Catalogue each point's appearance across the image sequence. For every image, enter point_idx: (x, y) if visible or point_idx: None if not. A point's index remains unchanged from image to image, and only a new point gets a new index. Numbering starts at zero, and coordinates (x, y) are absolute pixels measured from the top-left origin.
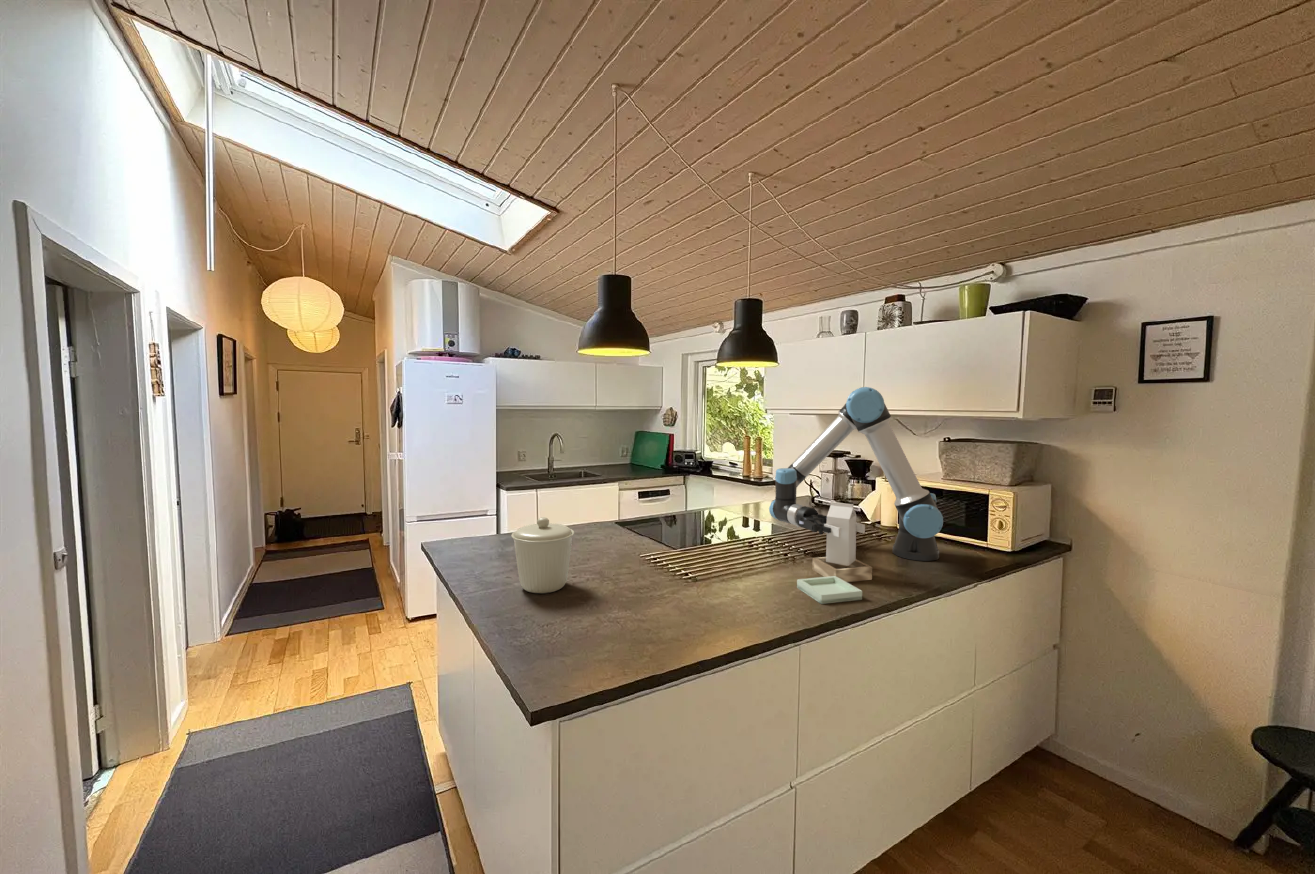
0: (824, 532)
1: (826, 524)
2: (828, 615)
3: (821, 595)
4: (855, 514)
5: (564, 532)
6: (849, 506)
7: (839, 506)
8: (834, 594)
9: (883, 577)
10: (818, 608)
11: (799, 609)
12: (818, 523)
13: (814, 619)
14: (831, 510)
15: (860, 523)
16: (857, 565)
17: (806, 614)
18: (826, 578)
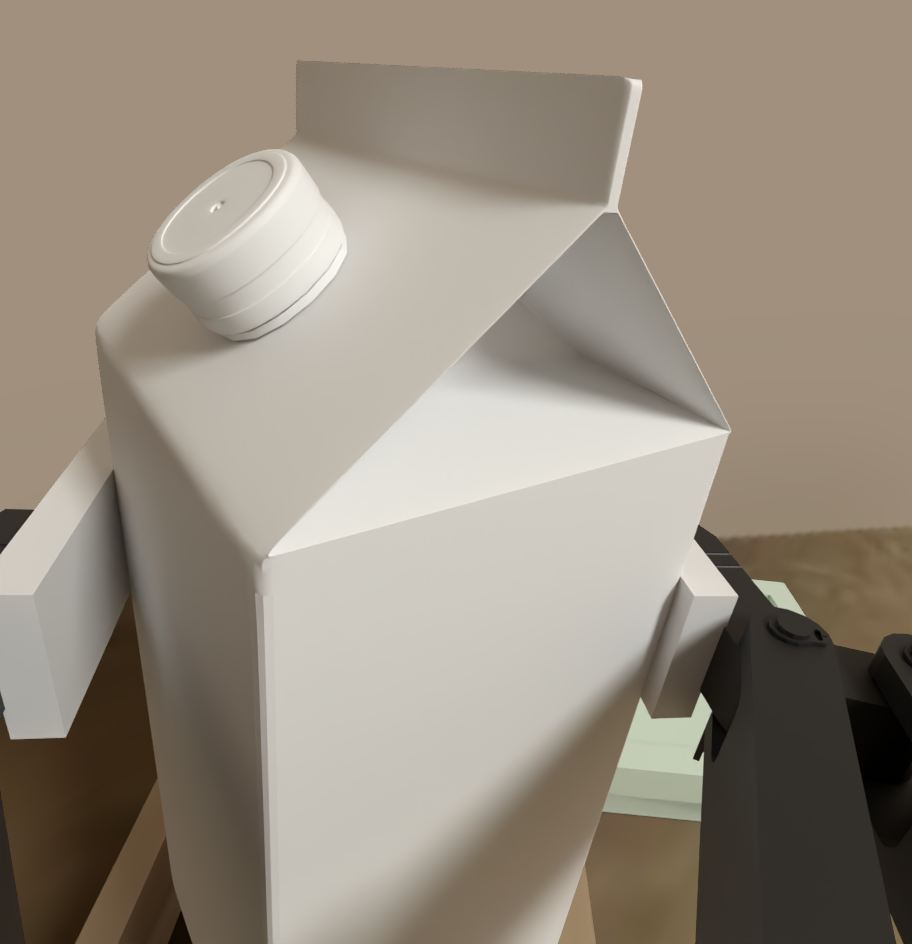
0: (683, 700)
1: (696, 564)
2: (764, 551)
3: (783, 584)
4: (121, 309)
5: None
6: (338, 121)
7: (452, 175)
8: None
9: (57, 789)
10: (793, 596)
11: (888, 613)
12: (838, 694)
13: (829, 548)
14: (630, 313)
15: (88, 439)
16: (149, 911)
17: (858, 578)
18: (667, 748)
